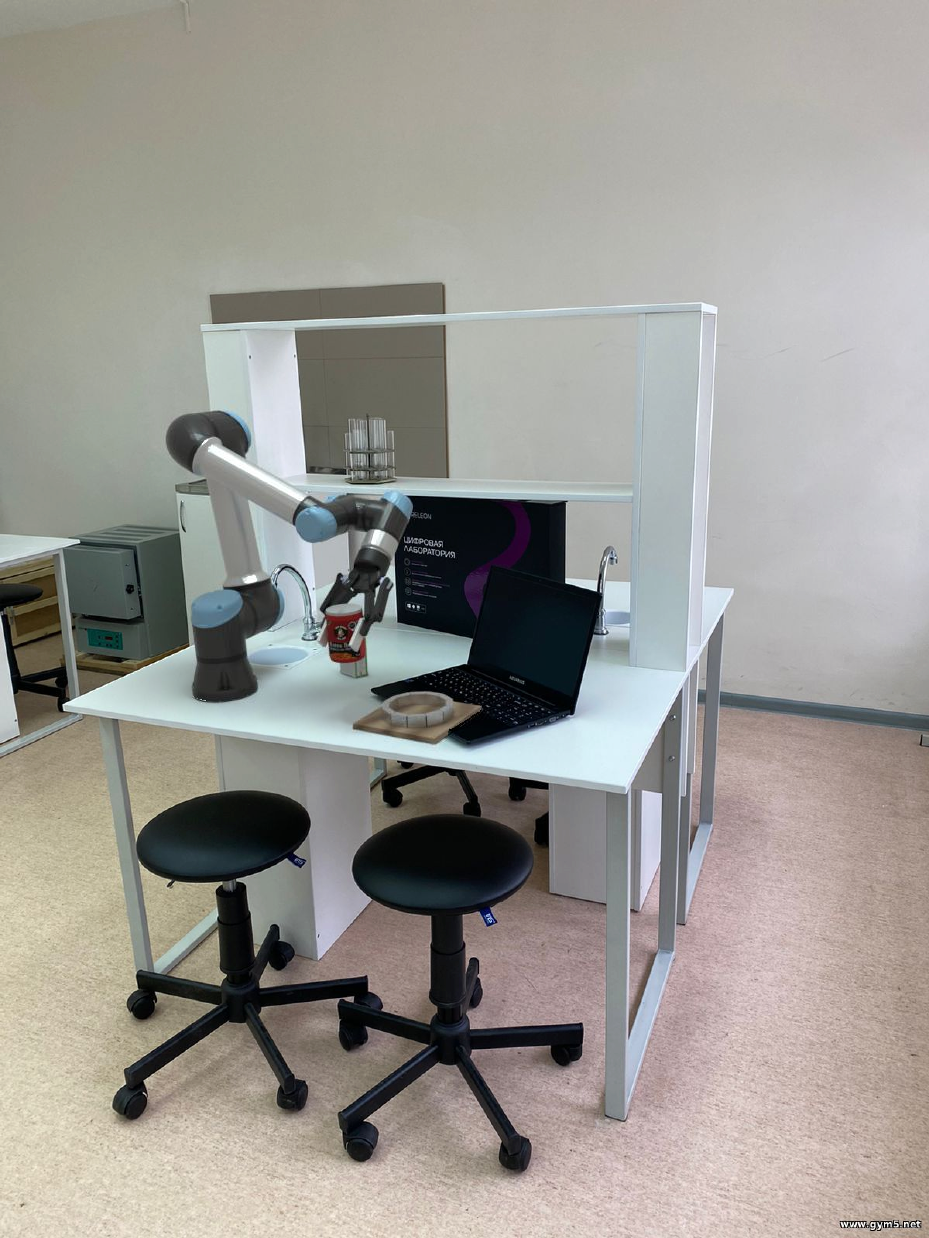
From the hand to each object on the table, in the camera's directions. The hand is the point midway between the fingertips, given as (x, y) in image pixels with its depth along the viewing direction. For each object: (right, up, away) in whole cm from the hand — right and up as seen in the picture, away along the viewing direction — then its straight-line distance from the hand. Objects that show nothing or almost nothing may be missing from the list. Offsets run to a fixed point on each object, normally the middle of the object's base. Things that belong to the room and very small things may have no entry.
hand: (336, 646), depth 198 cm
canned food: (+2, -3, +4) cm, 5 cm away
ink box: (0, -8, +36) cm, 37 cm away
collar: (+17, -15, +4) cm, 23 cm away
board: (+17, -16, +4) cm, 24 cm away
